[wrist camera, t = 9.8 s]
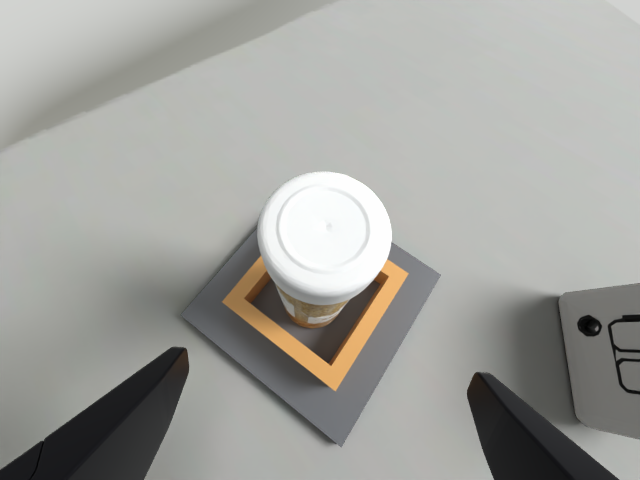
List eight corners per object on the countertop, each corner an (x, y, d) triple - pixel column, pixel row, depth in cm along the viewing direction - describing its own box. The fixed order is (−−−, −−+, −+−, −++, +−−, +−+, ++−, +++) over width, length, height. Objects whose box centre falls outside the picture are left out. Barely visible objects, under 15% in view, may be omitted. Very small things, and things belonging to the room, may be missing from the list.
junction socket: (339, 443, 20) (346, 460, 17) (184, 316, 22) (165, 310, 19) (436, 277, 24) (456, 266, 21) (298, 185, 26) (298, 163, 23)
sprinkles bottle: (337, 334, 21) (387, 310, 9) (275, 321, 21) (236, 279, 9) (347, 273, 23) (401, 179, 10) (289, 262, 23) (274, 154, 10)
